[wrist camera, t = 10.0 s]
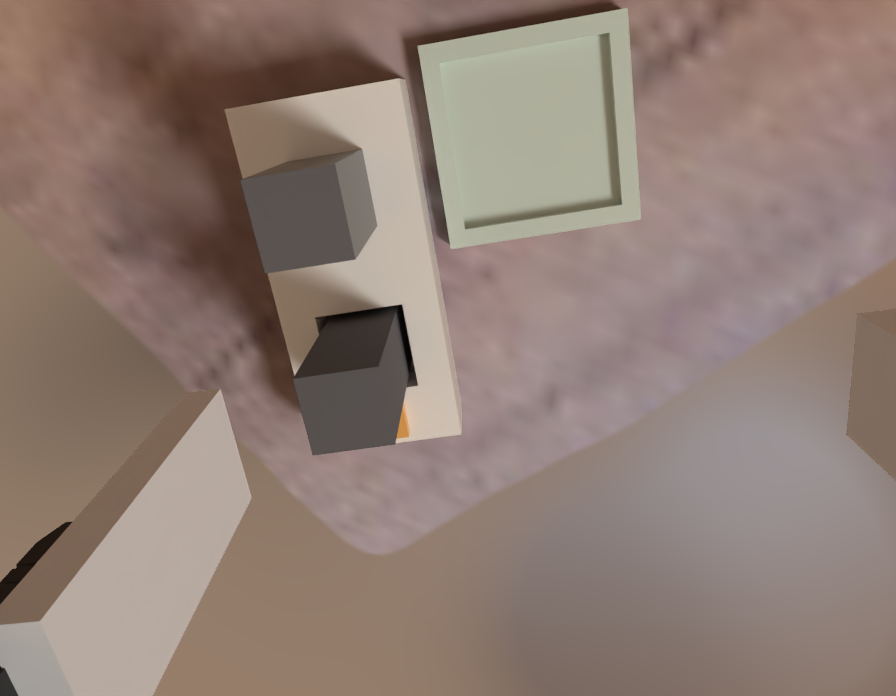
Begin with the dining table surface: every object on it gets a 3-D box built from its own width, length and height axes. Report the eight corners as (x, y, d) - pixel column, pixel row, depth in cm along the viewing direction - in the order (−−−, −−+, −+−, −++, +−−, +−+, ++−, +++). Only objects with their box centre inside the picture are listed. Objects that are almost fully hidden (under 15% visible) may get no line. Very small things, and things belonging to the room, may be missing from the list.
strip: (248, 107, 38) (159, 113, 27) (405, 79, 37) (380, 74, 26) (327, 423, 45) (282, 532, 34) (461, 405, 44) (460, 509, 33)
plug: (349, 367, 43) (312, 455, 32) (335, 307, 41) (292, 378, 31) (412, 358, 42) (395, 444, 32) (400, 297, 41) (378, 366, 31)
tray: (418, 47, 37) (417, 46, 36) (623, 10, 36) (627, 7, 35) (451, 245, 41) (450, 249, 40) (636, 216, 40) (641, 219, 39)
